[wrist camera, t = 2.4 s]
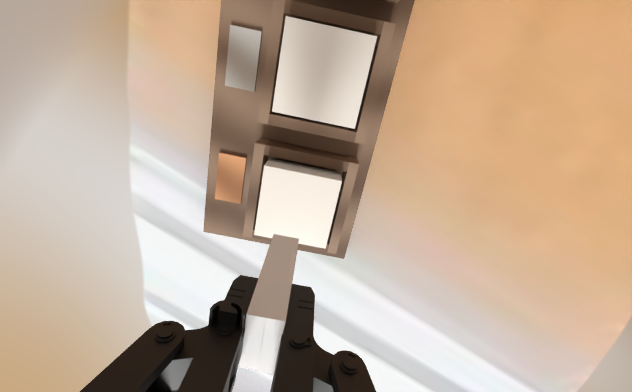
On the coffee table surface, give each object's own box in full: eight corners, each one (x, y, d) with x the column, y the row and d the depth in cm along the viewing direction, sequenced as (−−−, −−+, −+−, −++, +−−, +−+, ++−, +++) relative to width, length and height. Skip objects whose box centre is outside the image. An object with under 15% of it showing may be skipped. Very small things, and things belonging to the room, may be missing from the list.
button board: (247, -204, 20) (226, -280, 16) (450, -153, 21) (481, -213, 16) (210, 222, 31) (192, 244, 27) (342, 248, 32) (345, 273, 28)
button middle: (289, 23, 22) (285, 16, 19) (372, 41, 22) (377, 36, 20) (277, 108, 24) (271, 111, 21) (352, 124, 24) (354, 129, 22)
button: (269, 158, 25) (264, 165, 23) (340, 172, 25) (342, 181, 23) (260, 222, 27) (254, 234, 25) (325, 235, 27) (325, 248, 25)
